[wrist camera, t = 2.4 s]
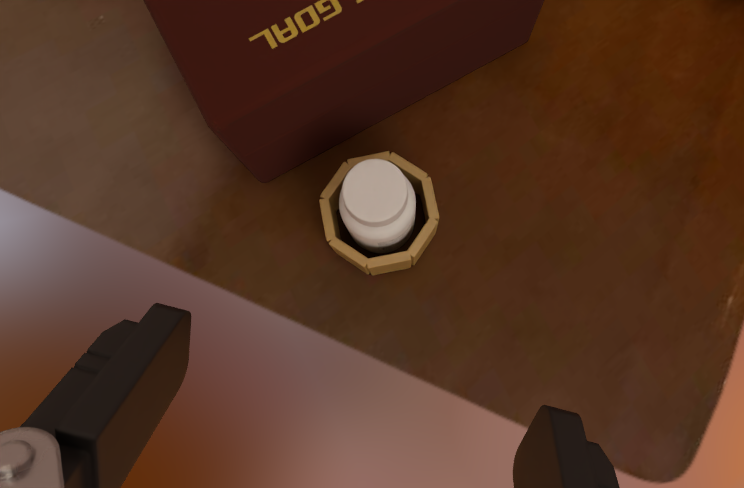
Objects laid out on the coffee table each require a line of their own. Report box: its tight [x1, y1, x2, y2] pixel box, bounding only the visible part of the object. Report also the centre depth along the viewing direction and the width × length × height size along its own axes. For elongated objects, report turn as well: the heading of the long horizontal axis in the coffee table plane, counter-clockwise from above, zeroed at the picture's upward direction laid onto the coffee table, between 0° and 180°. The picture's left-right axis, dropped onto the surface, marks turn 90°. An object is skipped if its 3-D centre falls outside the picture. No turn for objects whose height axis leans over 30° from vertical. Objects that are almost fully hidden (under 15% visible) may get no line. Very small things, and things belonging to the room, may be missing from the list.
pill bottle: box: [339, 159, 416, 253], centre depth 33 cm, size 4×4×8 cm
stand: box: [319, 151, 439, 275], centre depth 35 cm, size 7×7×4 cm
